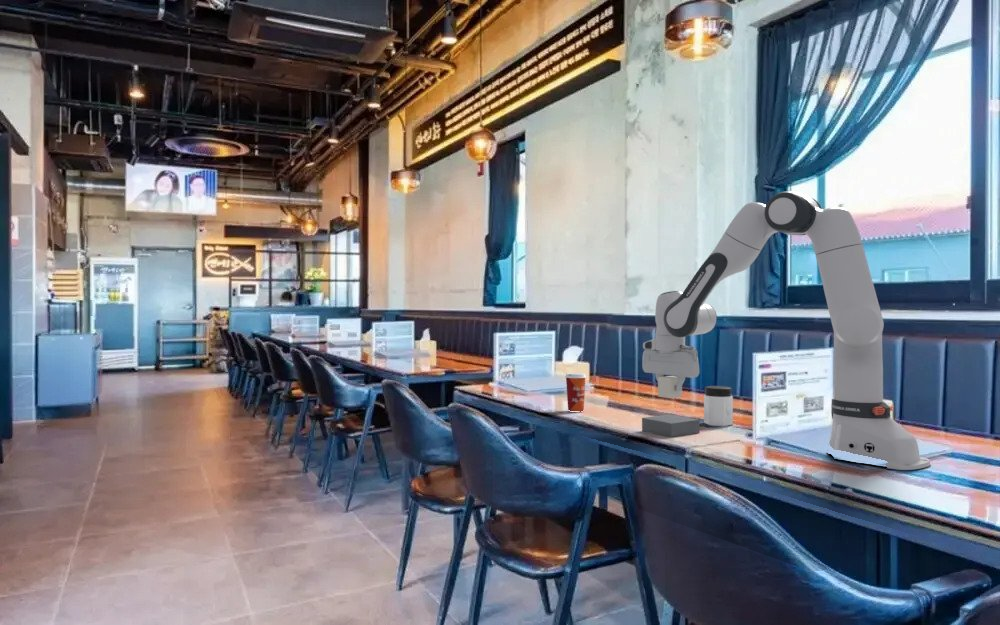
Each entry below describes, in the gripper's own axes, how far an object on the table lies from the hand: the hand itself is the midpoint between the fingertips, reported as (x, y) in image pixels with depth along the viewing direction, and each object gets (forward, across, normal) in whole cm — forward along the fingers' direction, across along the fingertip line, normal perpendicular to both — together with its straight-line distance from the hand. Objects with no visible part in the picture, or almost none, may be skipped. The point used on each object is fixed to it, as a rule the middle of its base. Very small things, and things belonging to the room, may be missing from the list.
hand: (669, 389), depth 199 cm
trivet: (+13, 0, 0) cm, 13 cm away
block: (+2, 0, 0) cm, 2 cm away
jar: (+13, +1, -23) cm, 27 cm away
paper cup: (+13, +47, -1) cm, 49 cm away
